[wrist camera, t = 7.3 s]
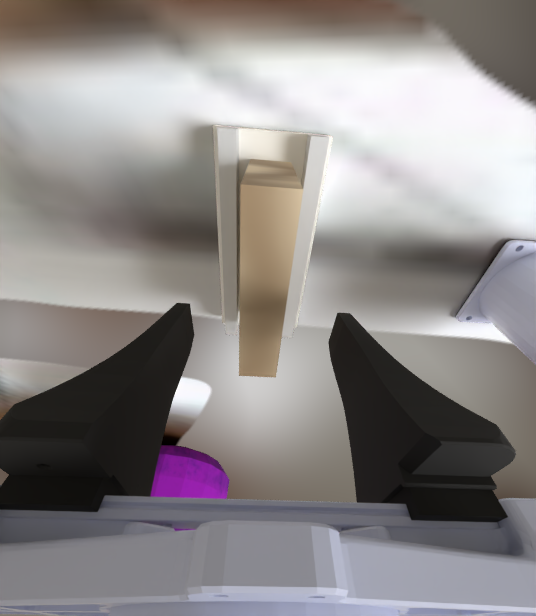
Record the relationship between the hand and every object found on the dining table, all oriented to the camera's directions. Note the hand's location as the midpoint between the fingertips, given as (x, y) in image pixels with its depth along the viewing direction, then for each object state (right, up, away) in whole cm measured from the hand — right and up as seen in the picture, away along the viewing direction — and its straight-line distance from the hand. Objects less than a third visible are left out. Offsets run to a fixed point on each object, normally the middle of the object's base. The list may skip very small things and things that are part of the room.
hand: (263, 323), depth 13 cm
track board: (0, +6, +7) cm, 9 cm away
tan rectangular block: (0, +5, +7) cm, 8 cm away
